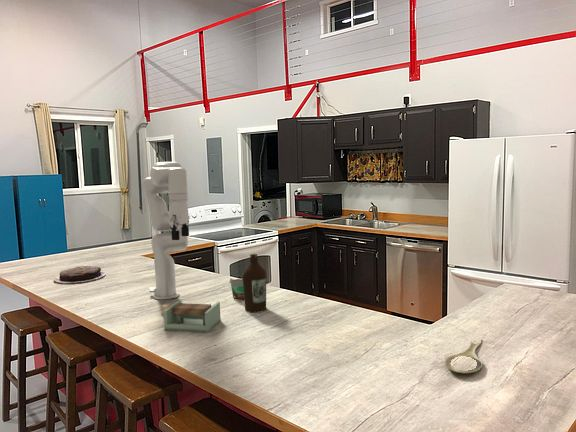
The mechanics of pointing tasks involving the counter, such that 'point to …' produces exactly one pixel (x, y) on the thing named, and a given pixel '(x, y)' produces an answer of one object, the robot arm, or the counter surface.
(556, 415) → the counter surface
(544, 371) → the counter surface
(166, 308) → the tan rectangular bar
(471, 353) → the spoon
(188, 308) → the board
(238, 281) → the food container
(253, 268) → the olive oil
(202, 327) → the frame
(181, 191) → the robot arm
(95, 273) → the chocolate cake
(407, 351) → the counter surface
